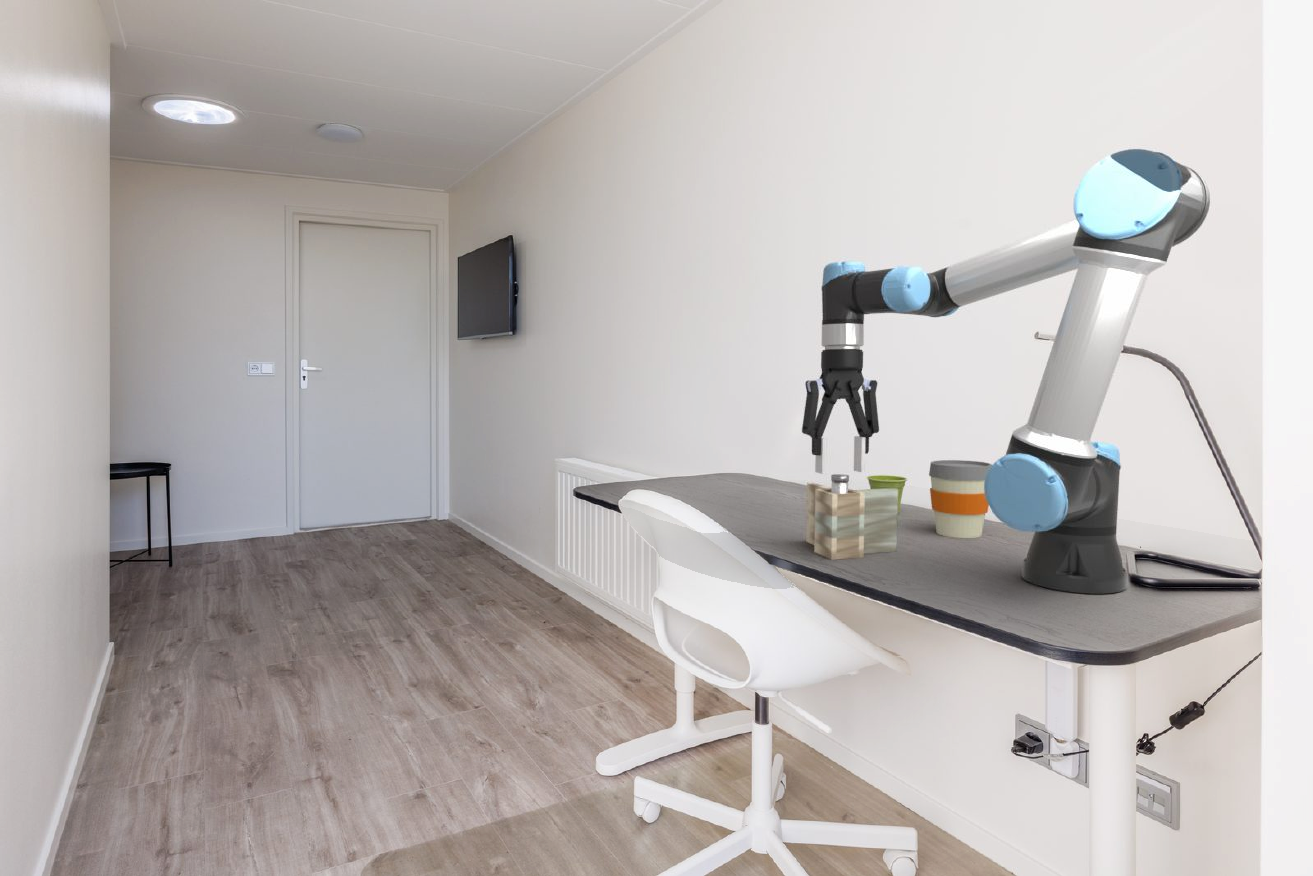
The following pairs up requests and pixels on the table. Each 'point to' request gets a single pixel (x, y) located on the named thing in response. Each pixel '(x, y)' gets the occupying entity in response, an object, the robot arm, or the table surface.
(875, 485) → the plant pot
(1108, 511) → the robot arm
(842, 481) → the hinge pin
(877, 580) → the table surface
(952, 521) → the reusable coffee cup
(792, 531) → the table surface
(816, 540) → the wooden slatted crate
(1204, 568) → the table surface
